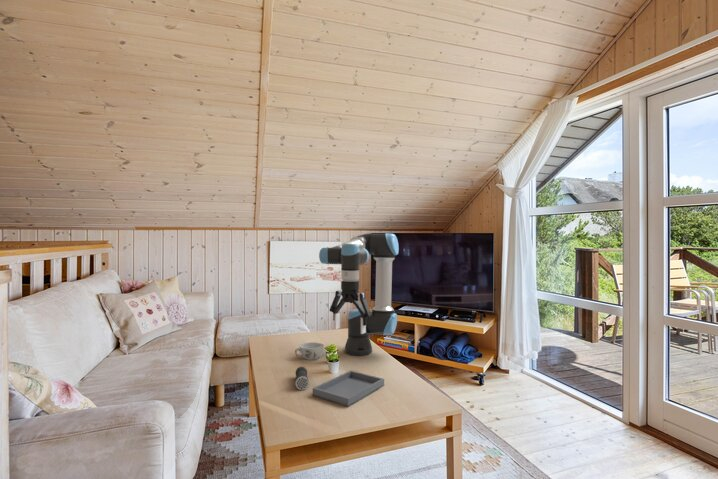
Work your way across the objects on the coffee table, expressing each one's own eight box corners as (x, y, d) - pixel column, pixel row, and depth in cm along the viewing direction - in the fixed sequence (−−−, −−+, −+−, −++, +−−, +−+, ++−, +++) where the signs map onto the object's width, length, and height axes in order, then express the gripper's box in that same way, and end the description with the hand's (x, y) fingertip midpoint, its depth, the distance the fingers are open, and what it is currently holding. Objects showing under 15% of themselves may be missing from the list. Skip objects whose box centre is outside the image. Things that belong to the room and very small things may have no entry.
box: (350, 377, 174) (350, 370, 174) (384, 385, 164) (384, 378, 164) (312, 395, 153) (312, 388, 153) (348, 406, 142) (348, 398, 142)
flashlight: (303, 379, 173) (293, 374, 173) (308, 368, 174) (298, 363, 173) (305, 391, 158) (293, 387, 157) (310, 379, 159) (298, 374, 158)
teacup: (321, 355, 206) (321, 341, 206) (325, 362, 194) (326, 347, 194) (293, 358, 202) (293, 343, 202) (296, 365, 190) (296, 349, 190)
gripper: (321, 279, 163) (321, 328, 163) (370, 283, 149) (369, 337, 149) (332, 277, 169) (332, 325, 169) (380, 281, 155) (379, 333, 155)
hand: (349, 331), depth 159 cm, fingers open, 13 cm apart
